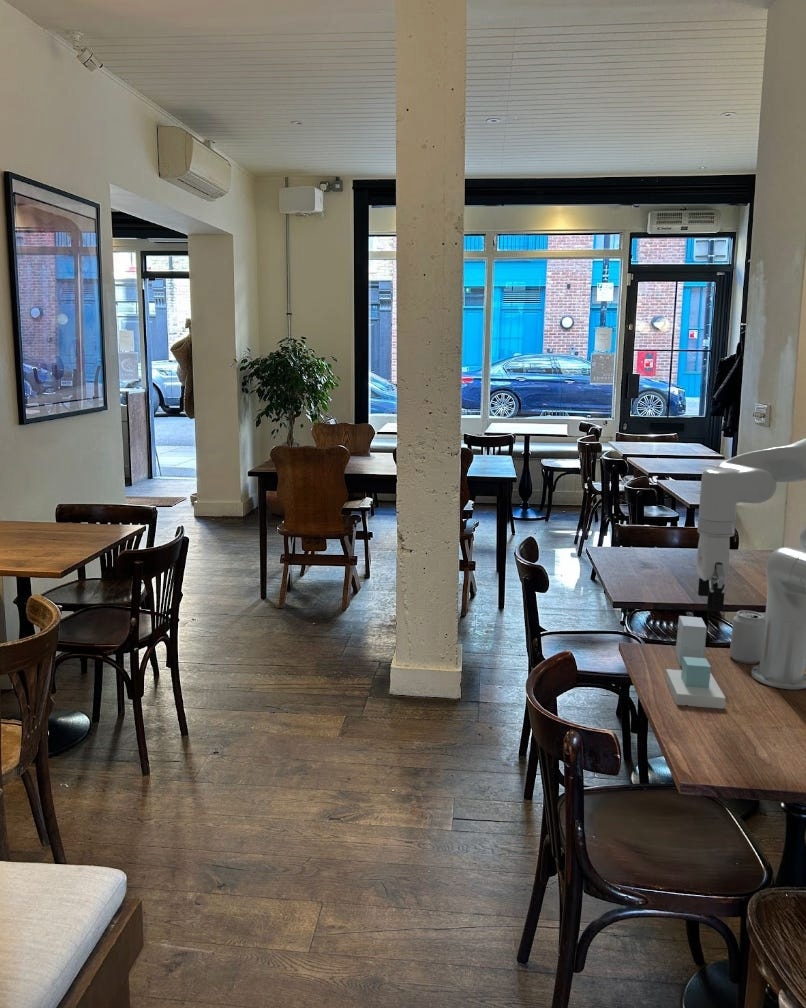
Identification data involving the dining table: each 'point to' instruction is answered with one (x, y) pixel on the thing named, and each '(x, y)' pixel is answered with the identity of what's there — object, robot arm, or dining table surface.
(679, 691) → the plate
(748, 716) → the dining table surface
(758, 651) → the can
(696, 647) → the small box
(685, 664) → the teal cube
